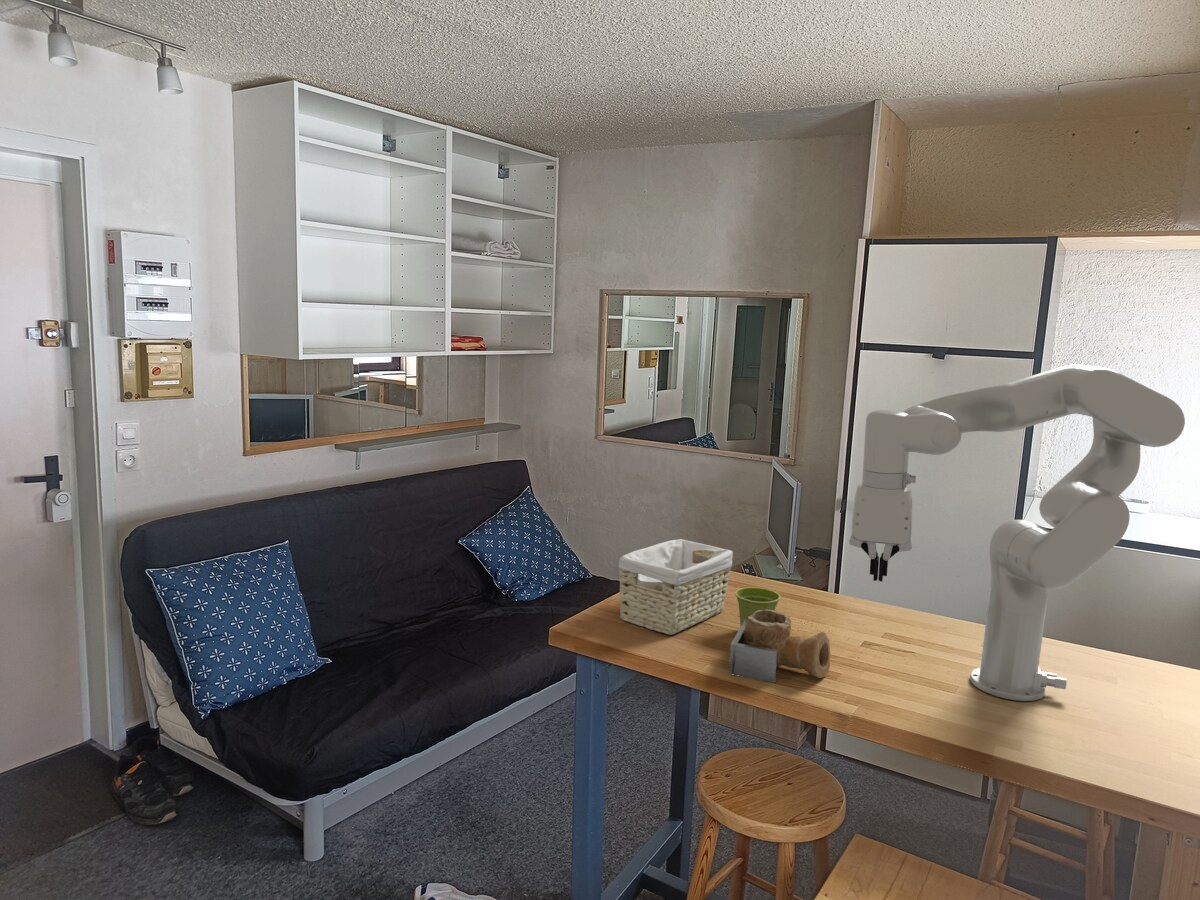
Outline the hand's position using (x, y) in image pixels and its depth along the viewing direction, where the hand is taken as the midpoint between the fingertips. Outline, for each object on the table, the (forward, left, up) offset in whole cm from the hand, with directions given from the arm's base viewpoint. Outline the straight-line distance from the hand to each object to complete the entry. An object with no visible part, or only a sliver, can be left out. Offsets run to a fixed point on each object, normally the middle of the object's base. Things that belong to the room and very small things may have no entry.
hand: (878, 578), depth 151 cm
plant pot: (+24, -16, -21) cm, 35 cm away
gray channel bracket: (+21, 0, -20) cm, 29 cm away
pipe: (+15, 0, -21) cm, 26 cm away
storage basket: (+42, -18, -21) cm, 50 cm away
